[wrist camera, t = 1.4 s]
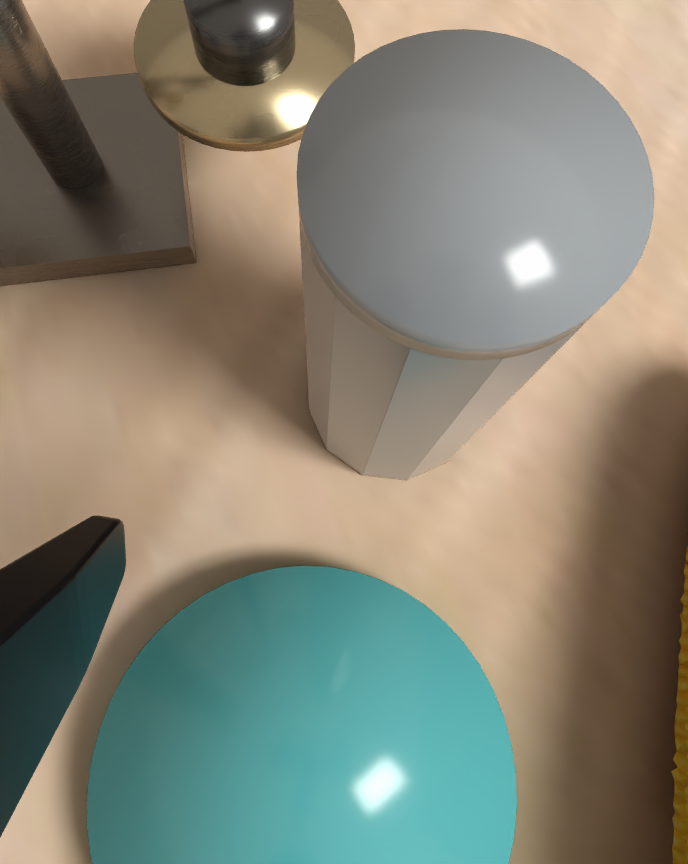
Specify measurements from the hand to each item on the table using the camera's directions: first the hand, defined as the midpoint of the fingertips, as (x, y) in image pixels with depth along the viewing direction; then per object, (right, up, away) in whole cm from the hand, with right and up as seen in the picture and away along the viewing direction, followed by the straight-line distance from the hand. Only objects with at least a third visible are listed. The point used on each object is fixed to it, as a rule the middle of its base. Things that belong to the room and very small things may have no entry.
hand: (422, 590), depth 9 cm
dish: (-2, -9, +11) cm, 14 cm away
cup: (+1, +4, +14) cm, 15 cm away
